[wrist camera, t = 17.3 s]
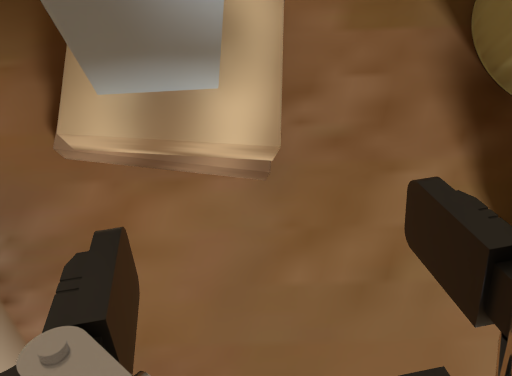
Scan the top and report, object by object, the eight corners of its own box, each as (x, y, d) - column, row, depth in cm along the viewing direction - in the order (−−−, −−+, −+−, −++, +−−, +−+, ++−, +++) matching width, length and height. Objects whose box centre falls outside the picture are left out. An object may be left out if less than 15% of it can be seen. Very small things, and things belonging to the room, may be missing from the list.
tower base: (278, 11, 31) (285, -16, 28) (263, 182, 29) (270, 172, 26) (99, -14, 30) (87, -45, 27) (69, 161, 28) (53, 148, 25)
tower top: (276, -13, 28) (284, -46, 25) (272, 160, 26) (280, 146, 23) (93, -30, 27) (79, -67, 24) (73, 149, 25) (56, 133, 22)
